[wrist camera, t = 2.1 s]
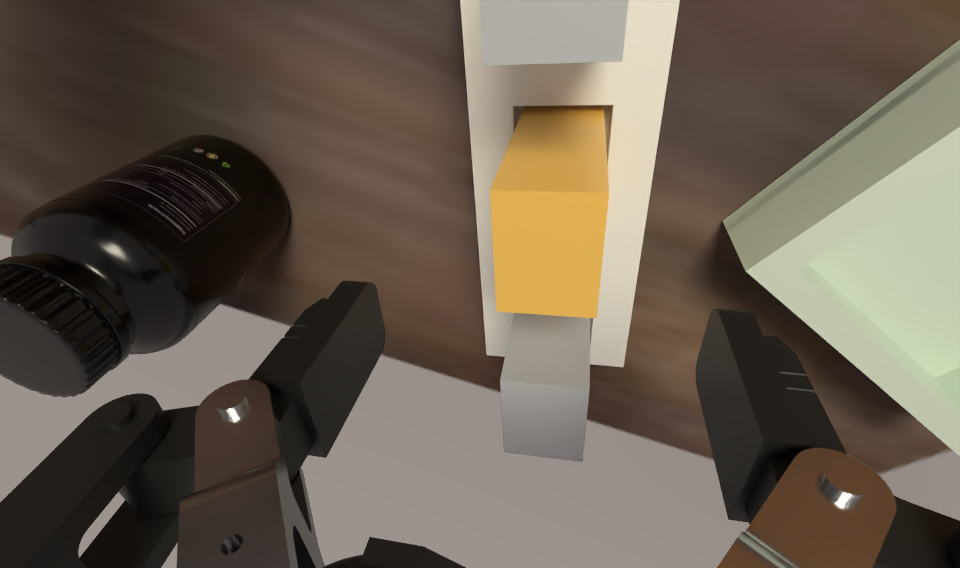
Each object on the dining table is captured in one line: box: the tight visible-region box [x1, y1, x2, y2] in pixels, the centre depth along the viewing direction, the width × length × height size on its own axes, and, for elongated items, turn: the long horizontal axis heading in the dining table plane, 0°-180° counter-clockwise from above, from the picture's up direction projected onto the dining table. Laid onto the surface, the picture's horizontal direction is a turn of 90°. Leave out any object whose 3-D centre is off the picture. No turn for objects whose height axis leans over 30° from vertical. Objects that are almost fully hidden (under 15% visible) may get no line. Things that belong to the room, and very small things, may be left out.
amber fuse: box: [490, 105, 609, 319], centre depth 16 cm, size 4×3×8 cm
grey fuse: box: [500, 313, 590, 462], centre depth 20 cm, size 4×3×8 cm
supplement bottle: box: [0, 135, 289, 397], centre depth 20 cm, size 7×7×12 cm
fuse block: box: [460, 0, 680, 367], centre depth 20 cm, size 21×7×2 cm, turn 4°
